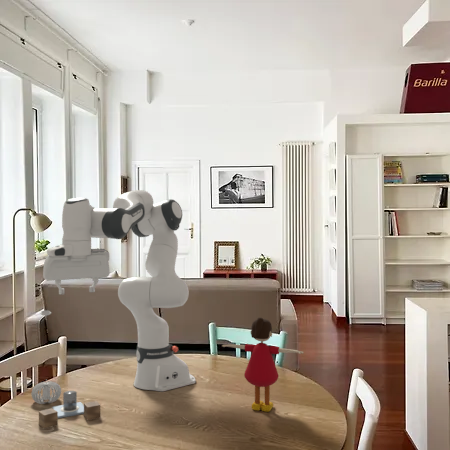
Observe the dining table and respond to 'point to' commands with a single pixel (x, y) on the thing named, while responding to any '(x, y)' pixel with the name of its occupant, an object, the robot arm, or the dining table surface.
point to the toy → (261, 362)
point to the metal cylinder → (69, 400)
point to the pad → (63, 413)
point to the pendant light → (46, 386)
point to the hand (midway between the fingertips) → (77, 293)
